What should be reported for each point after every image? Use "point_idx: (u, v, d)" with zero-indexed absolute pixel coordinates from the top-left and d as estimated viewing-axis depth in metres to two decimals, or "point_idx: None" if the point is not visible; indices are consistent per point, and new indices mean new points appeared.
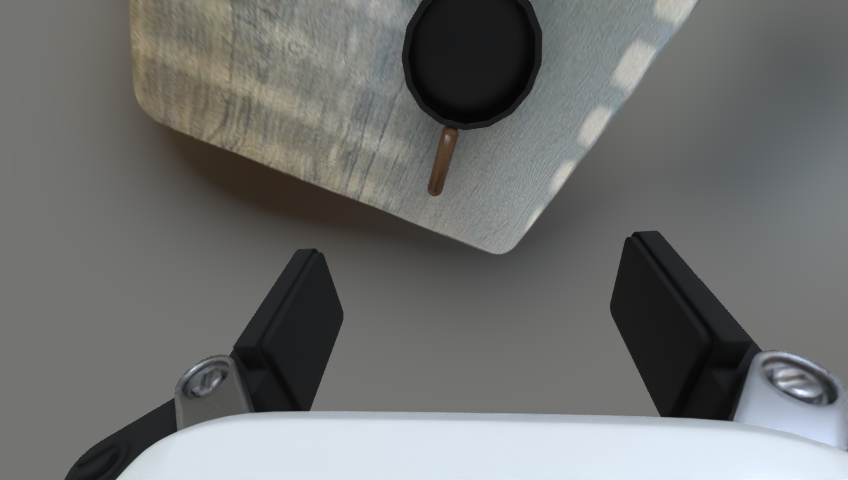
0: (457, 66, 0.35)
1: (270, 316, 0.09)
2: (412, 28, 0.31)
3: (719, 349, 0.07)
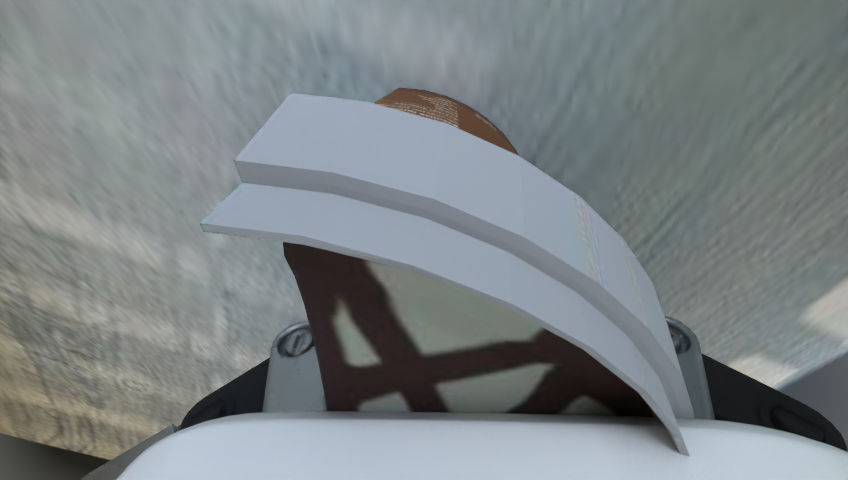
0: None
1: None
2: None
3: None
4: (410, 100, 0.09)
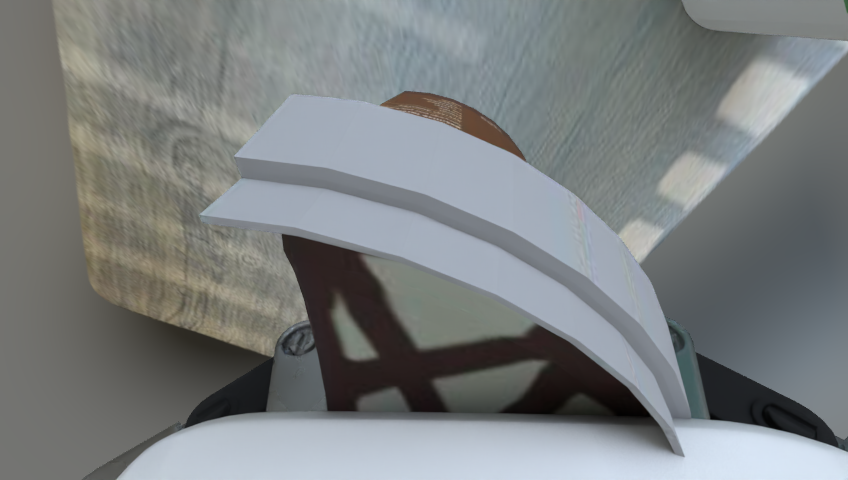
0: None
1: None
2: None
3: None
4: (415, 102, 0.09)
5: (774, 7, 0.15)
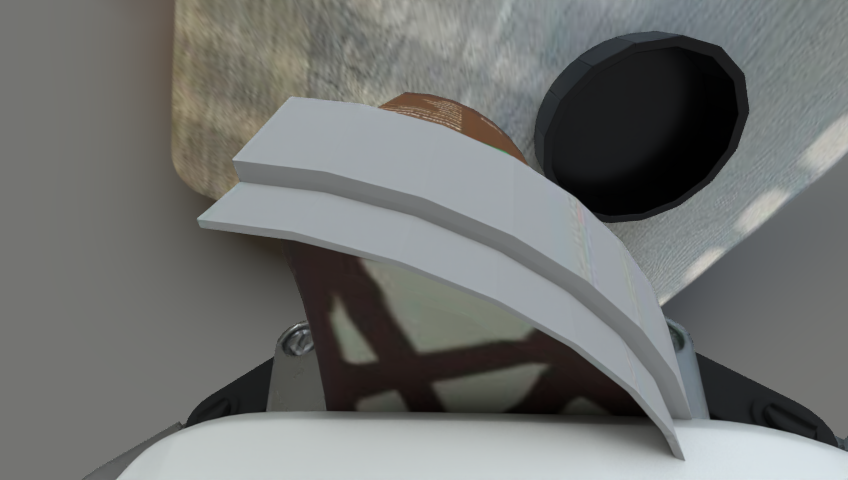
0: (600, 140, 0.27)
1: None
2: (567, 103, 0.23)
3: None
4: (415, 104, 0.09)
5: None
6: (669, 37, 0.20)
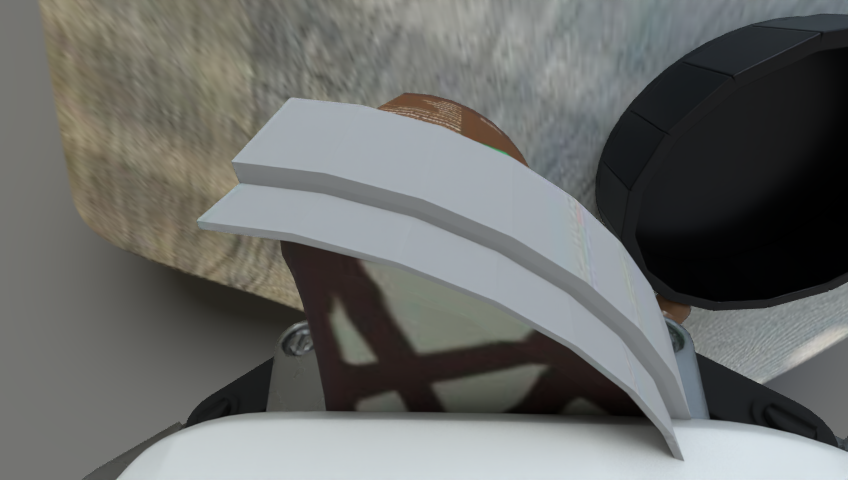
0: (699, 185, 0.18)
1: None
2: (677, 137, 0.13)
3: None
4: (414, 104, 0.09)
5: None
6: None
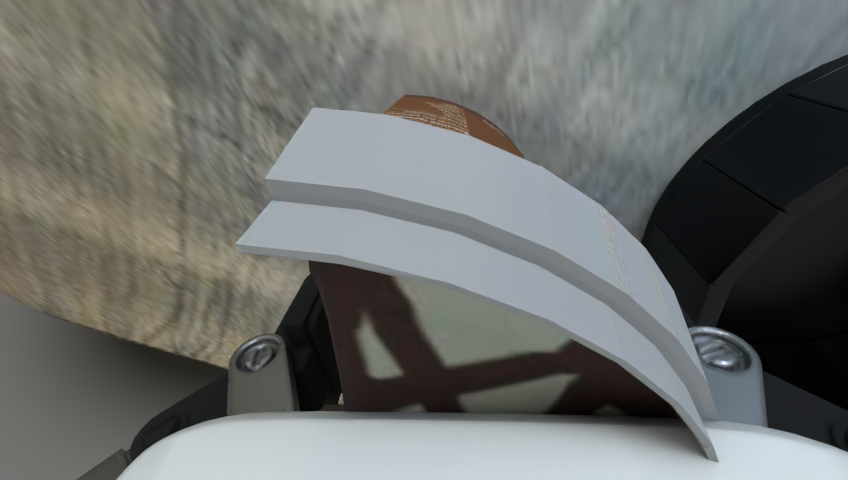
0: (787, 256, 0.13)
1: (313, 297, 0.09)
2: (797, 216, 0.09)
3: None
4: (419, 107, 0.09)
5: None
6: None
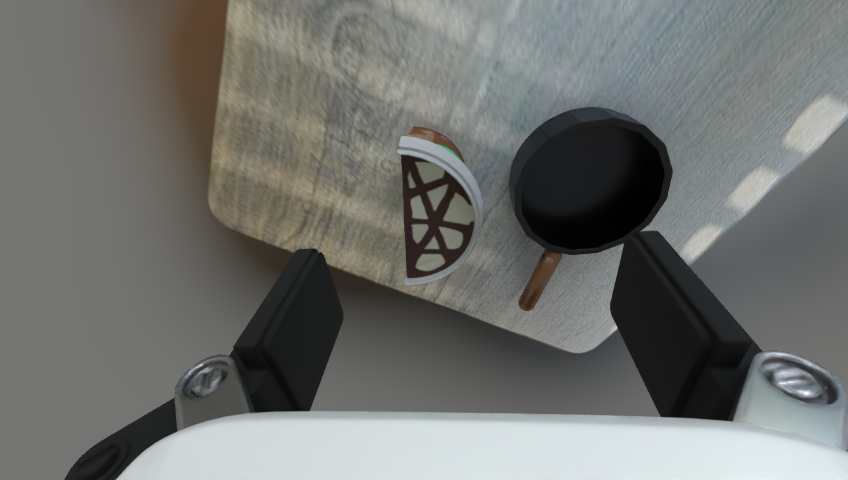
0: (562, 187, 0.33)
1: (270, 316, 0.09)
2: (531, 164, 0.29)
3: (719, 349, 0.07)
4: (418, 132, 0.29)
5: None
6: (605, 119, 0.26)
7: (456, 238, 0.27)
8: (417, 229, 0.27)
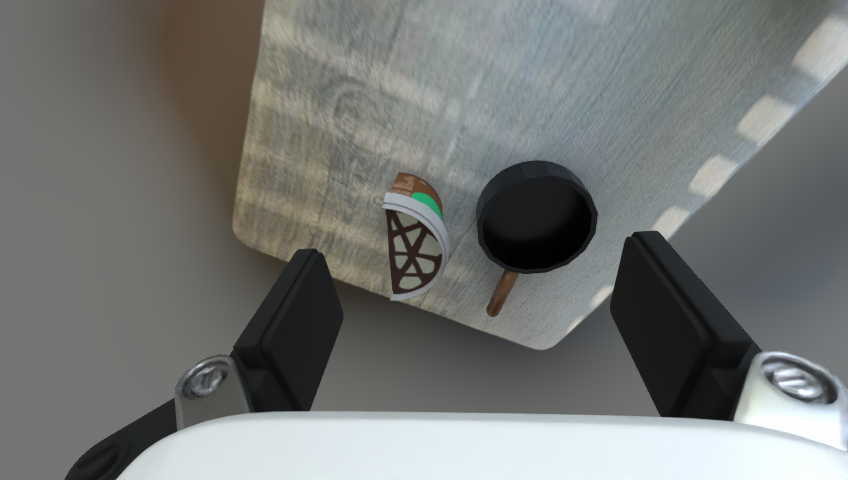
0: (518, 220, 0.41)
1: (270, 316, 0.09)
2: (488, 206, 0.37)
3: (719, 349, 0.07)
4: (401, 180, 0.38)
5: None
6: (542, 175, 0.35)
7: (429, 265, 0.36)
8: (399, 258, 0.35)
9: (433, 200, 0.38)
